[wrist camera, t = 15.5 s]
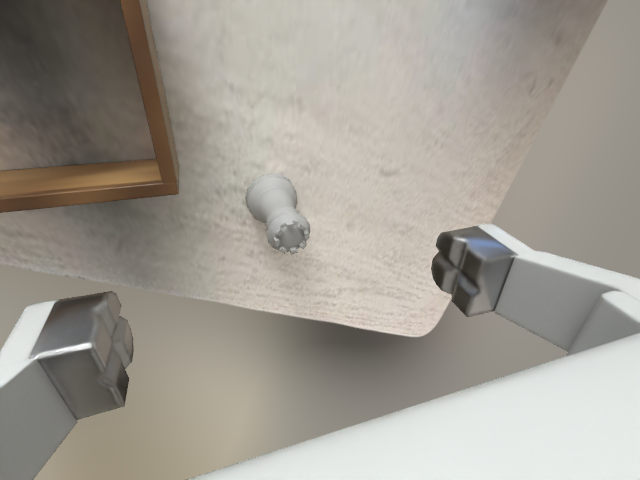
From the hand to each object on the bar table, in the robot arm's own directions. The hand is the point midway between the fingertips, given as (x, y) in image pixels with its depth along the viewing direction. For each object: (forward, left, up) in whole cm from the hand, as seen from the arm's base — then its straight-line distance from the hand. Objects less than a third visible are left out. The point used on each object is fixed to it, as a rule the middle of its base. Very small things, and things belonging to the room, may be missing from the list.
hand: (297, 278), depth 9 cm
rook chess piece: (-3, +7, -22) cm, 23 cm away
